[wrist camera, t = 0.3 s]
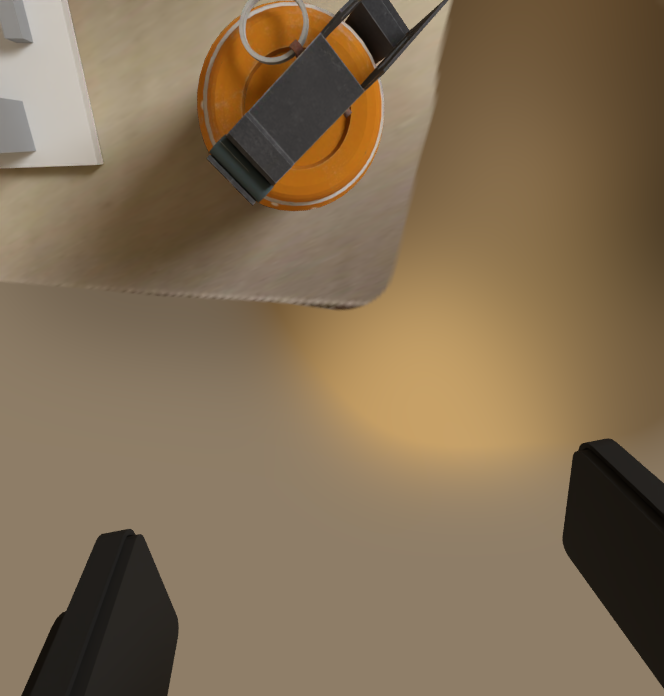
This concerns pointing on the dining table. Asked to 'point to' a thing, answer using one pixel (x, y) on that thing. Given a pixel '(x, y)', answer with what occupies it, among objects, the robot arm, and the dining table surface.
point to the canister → (299, 98)
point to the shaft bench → (43, 89)
